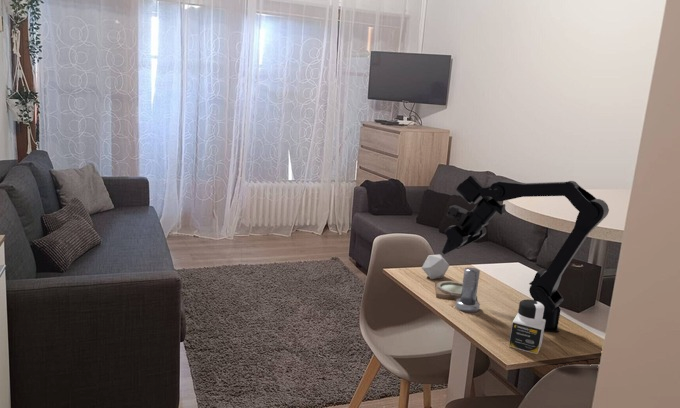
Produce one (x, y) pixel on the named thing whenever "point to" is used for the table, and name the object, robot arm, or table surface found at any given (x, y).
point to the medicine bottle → (528, 327)
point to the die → (435, 266)
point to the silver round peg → (469, 291)
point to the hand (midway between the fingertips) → (449, 250)
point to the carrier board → (448, 289)
